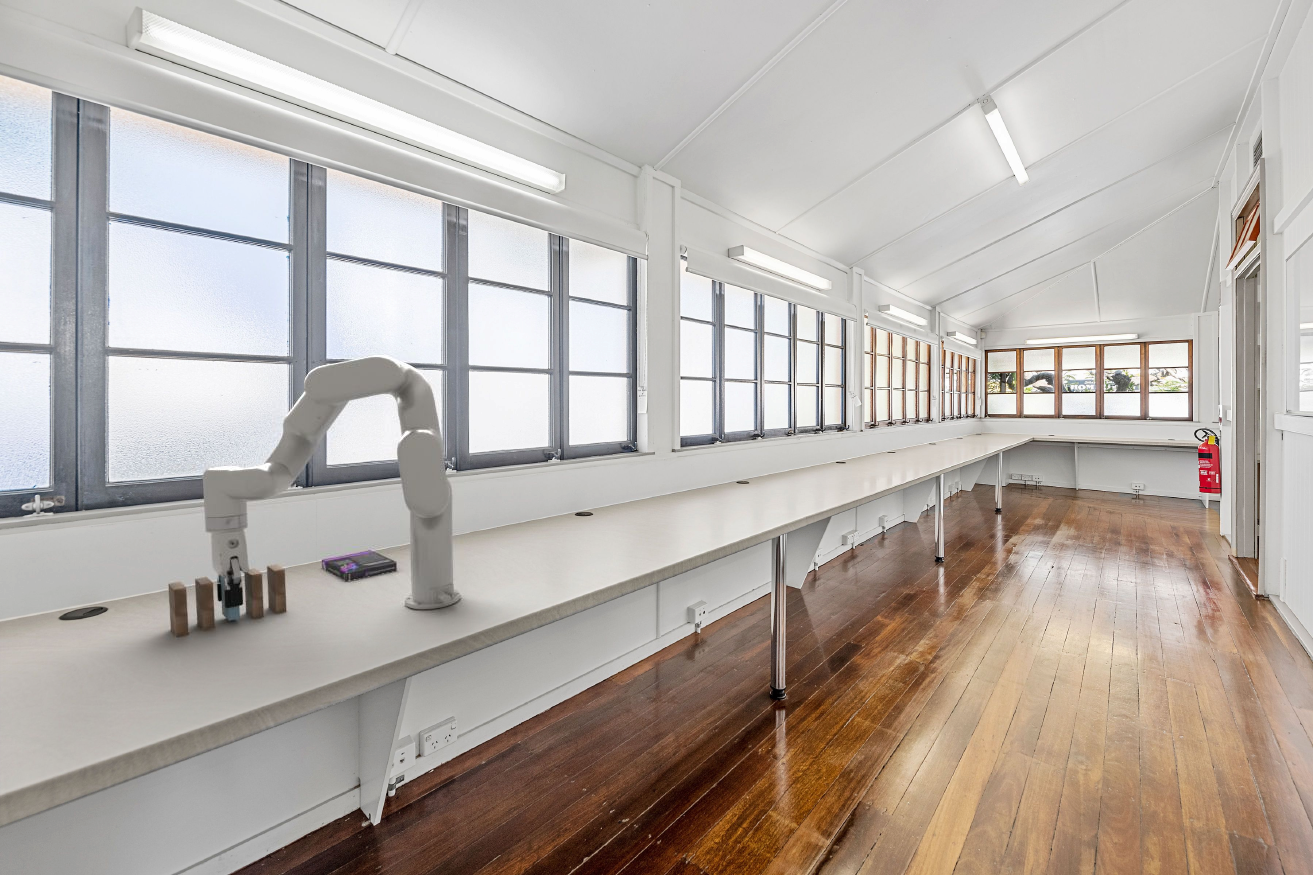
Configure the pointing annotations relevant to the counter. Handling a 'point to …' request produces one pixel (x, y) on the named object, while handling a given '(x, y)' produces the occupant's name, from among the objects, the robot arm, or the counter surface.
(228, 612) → the domino
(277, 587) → the domino
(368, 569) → the box
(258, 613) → the domino
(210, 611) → the domino
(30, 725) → the counter surface
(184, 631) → the domino
